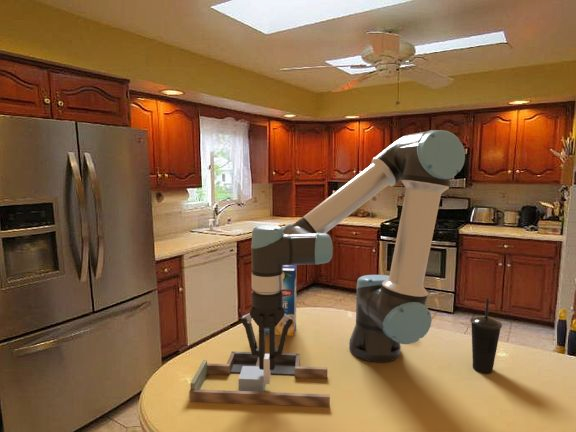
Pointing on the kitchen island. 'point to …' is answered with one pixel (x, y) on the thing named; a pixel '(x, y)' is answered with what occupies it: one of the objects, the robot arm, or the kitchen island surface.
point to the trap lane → (283, 366)
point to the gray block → (251, 379)
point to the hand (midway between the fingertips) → (267, 380)
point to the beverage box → (288, 299)
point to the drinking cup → (484, 341)
